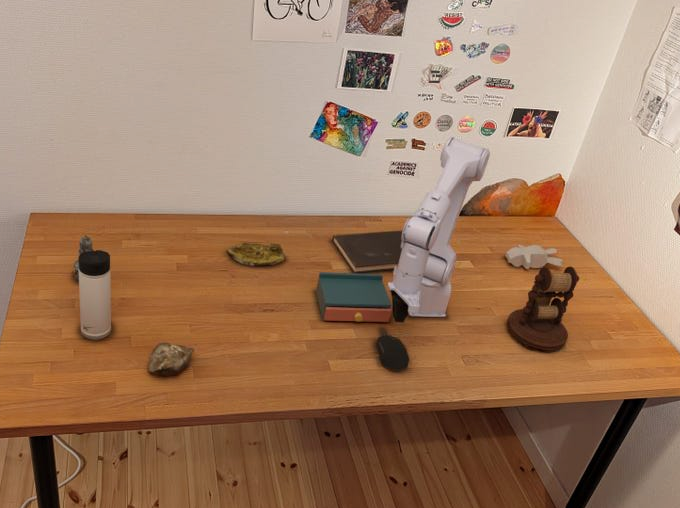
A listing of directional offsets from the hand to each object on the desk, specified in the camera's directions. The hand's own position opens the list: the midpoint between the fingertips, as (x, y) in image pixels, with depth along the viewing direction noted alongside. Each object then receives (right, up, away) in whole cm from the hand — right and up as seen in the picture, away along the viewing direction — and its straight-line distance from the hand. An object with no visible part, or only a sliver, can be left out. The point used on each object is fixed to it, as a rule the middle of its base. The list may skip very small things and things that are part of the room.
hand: (398, 319), depth 165 cm
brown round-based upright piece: (+36, -5, +19) cm, 41 cm away
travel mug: (-66, -3, -4) cm, 66 cm away
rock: (-48, -9, -10) cm, 50 cm away
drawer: (-9, +1, +15) cm, 18 cm away
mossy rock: (-34, +14, +30) cm, 47 cm away
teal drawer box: (-10, +2, +17) cm, 20 cm away
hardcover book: (-1, +15, +40) cm, 43 cm away
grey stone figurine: (-73, +9, +11) cm, 74 cm away
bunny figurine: (+43, +12, +47) cm, 65 cm away
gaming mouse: (-1, -8, +5) cm, 10 cm away
